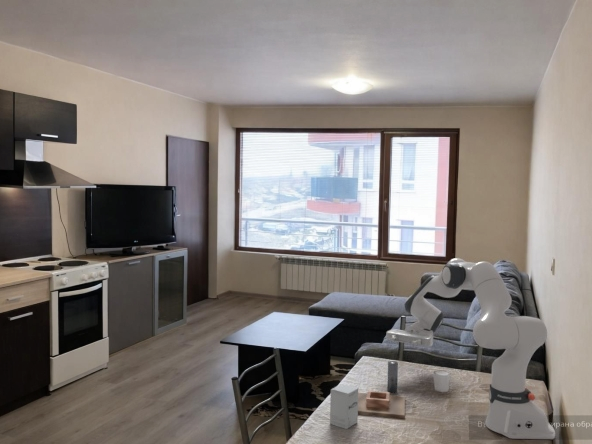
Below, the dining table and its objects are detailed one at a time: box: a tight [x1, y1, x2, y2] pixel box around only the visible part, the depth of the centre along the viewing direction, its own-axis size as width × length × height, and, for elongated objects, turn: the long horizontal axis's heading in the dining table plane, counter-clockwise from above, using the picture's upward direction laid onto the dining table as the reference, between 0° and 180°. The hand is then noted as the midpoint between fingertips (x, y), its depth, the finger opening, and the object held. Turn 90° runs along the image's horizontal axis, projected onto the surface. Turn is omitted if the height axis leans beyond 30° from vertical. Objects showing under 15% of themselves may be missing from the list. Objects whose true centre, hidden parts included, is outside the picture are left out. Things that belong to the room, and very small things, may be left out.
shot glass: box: [433, 370, 451, 393], centre depth 223 cm, size 7×7×7 cm
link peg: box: [386, 360, 399, 394], centre depth 220 cm, size 4×4×12 cm
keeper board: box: [358, 390, 406, 419], centre depth 204 cm, size 20×18×4 cm
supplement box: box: [329, 383, 359, 430], centre depth 189 cm, size 7×7×13 cm
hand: (403, 342), depth 230 cm, fingers open, 8 cm apart
